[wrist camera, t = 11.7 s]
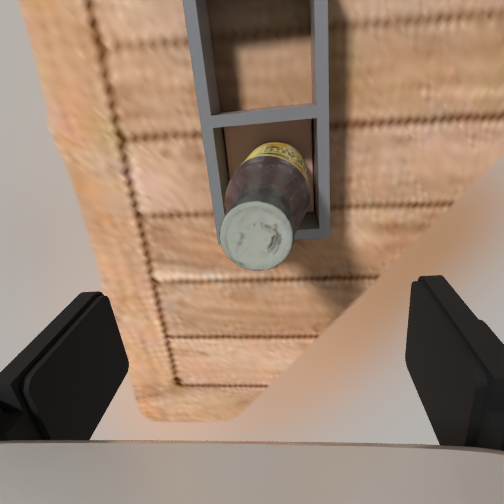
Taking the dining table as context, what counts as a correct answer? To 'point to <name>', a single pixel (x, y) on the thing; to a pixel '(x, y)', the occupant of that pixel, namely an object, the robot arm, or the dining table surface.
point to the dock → (264, 120)
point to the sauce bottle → (265, 206)
